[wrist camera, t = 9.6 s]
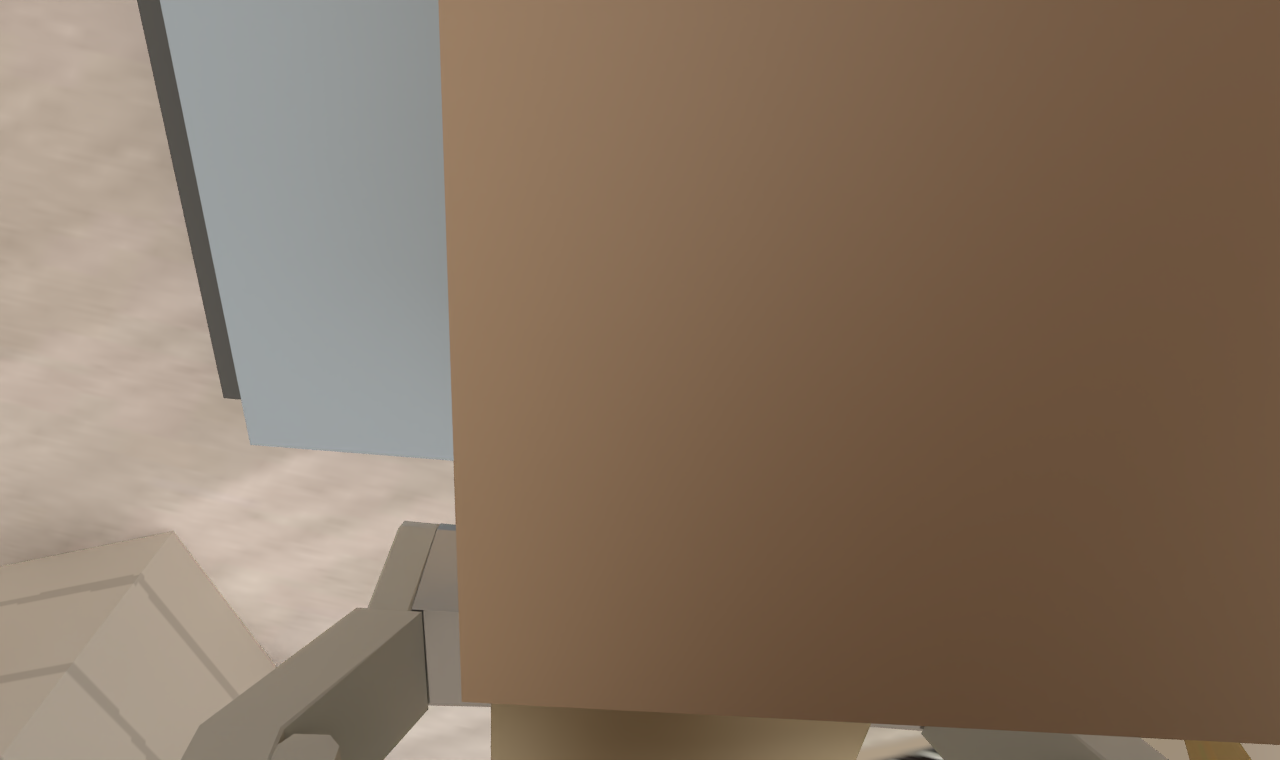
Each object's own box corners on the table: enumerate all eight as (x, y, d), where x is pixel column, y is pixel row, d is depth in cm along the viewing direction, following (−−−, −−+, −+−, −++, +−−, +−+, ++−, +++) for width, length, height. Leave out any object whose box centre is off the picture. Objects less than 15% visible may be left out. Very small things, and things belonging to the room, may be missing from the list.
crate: (1172, -180, 5) (2385, -428, 2) (974, 347, 7) (1305, 748, 4) (568, -262, 5) (413, -770, 1) (546, 311, 7) (460, 702, 3)
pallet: (1025, -245, 8) (1328, -376, 4) (725, 813, 18) (748, 1018, 15) (552, -309, 8) (489, -504, 4) (517, 804, 18) (491, 1011, 14)
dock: (562, -283, 22) (552, -310, 20) (535, 427, 36) (527, 466, 33) (112, -345, 22) (42, -381, 19) (256, 405, 35) (226, 442, 32)
